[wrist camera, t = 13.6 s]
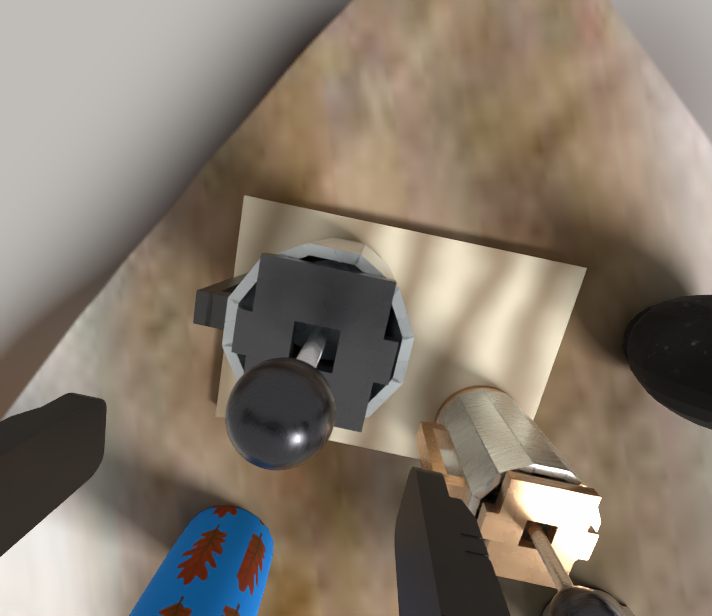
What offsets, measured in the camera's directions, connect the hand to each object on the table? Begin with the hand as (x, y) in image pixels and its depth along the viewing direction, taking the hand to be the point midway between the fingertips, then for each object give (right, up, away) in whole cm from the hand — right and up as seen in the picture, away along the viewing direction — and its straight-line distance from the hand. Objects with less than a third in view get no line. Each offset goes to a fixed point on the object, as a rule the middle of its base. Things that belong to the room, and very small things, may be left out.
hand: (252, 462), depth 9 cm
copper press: (+14, -7, +26) cm, 30 cm away
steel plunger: (+1, +4, +18) cm, 18 cm away
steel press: (0, +5, +24) cm, 24 cm away
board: (+6, 0, +26) cm, 27 cm away
